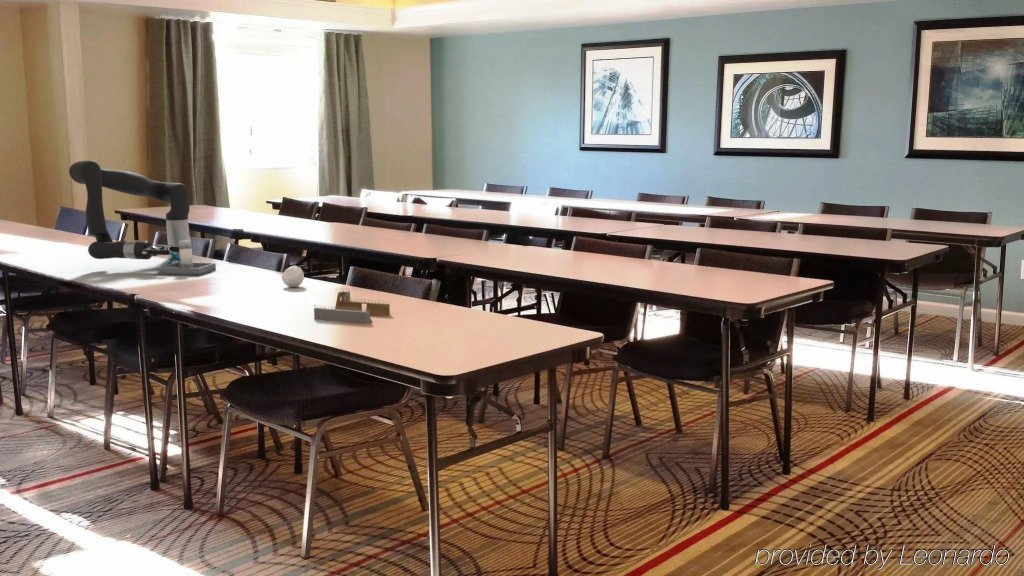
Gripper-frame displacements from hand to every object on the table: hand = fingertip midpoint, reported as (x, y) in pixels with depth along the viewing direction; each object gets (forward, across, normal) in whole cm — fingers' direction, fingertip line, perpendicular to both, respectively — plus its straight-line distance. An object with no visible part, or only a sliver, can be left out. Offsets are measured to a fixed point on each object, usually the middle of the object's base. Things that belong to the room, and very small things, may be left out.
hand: (174, 250), depth 377 cm
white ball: (+61, -25, +9) cm, 66 cm away
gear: (-10, +17, +9) cm, 22 cm away
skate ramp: (+102, -66, +10) cm, 121 cm away
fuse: (+5, 0, +8) cm, 9 cm away
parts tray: (+5, 0, +9) cm, 10 cm away
